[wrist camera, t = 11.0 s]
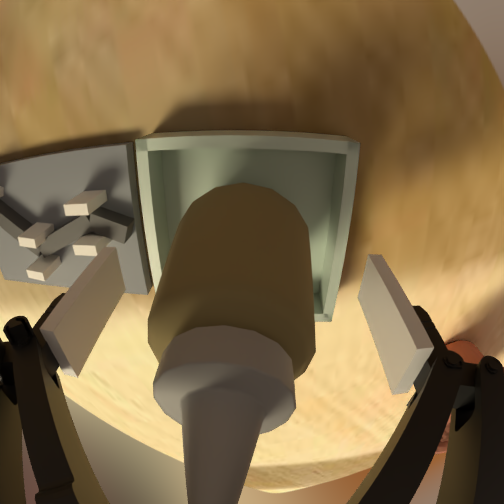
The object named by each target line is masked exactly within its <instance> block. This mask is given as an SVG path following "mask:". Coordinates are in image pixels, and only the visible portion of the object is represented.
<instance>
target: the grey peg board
mask: <svg viewBox="0 0 504 504" xmlns="http://www.w3.org/2000/svg"><path fill="white" fill-rule="evenodd" d="M103 247H116V249H117V254H118V259H119V263H120V267H121V272H122V276H123V280H124V284H125V288H126V290H125V292H124V293H132V294H145V295H148V293H149V291H150V289H151V288H152V283H151V278H150V273H149V267H148V261H147V255H146V249H145V243H144V237H143V230H142V223H141V216H140V208H139V200H138V191H137V182H136V172H135V161H134V149H133V142H126V143H116V144H107V145H99V146H91V147H84V148H77V149H70V150H64V151H58V152H52V153H47V154H41V155H36V156H31V157H26V158H22V159H17V160H13V161H8V162H4V163H0V269H1V271H2V274H3V276H4V279H5V280H12V281H20V282H27V283H35V284H43V285H51V286H60V287H69V288H70V287H71V286H72V285H73V283H74V282H75V281H76V280H77V278H78V277H79V276H80V275H81V273H82V272H83V271H84V270H85V269H86V267H87V266H88V265H89V264H90V263H91V261H92V260H93V259H94V258H95V257H96V256H97V254H98V253H99V252H100V251H101V250H102V249H103Z"/></svg>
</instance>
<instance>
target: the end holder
mask: <svg viewBox="0 0 504 504" xmlns="http://www.w3.org/2000/svg"><path fill="white" fill-rule="evenodd" d="M135 143H136V156H137V168H138V178H139V188H140V197H141V205H142V213H143V221H144V228H145V235H146V242H147V248H148V254H149V260H150V266H151V272H152V277H153V283H154V288H155V293H156V291H157V288H158V284H159V281H160V278H161V275H162V272H163V269H164V266H165V263H166V259H167V256H168V253H169V251H170V248H171V245H172V242H173V239H174V236H175V233H176V230H177V227H178V225H179V222H180V221H181V219H182V218H183V216H184V214H185V213H186V211H187V210H188V208H189V207H190V205H191V203H192V202H193V201H195V200H196V199H198V198H199V197H201V196H202V195H204V194H205V193H207V192H209V191H210V190H212V189H213V188H215V187H219V186H225V185H231V184H237V183H243V182H244V183H248V184H253V185H257V186H262V187H266V188H270V189H273V190H274V191H276V192H277V193H279V194H280V195H282V196H283V197H284V198H286V199H287V200H289V201H290V202H291V203H293V204H294V205H295V206H296V208H297V209H298V211H299V213H300V214H301V216H302V218H303V219H304V221H305V223H306V224H307V226H308V230H309V240H310V250H311V264H312V280H313V297H314V318H315V322H331V321H332V316H333V312H334V308H335V303H336V298H337V294H338V289H339V284H340V279H341V274H342V269H343V263H344V258H345V252H346V246H347V241H348V235H349V228H350V222H351V216H352V209H353V202H354V194H355V187H356V179H357V170H358V161H359V152H360V143H359V142H357V141H355V140H353V139H351V138H349V137H347V136H340V135H329V134H318V133H304V132H288V131H263V130H203V131H178V132H162V133H151V134H149V135H146V136H143V137H141V138H138V139H136V140H135Z"/></svg>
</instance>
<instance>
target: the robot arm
mask: <svg viewBox="0 0 504 504" xmlns="http://www.w3.org/2000/svg"><path fill="white" fill-rule="evenodd" d="M125 290H126V288H125V284H124V280H123V276H122V272H121V267H120V263H119V259H118V254H117V249H116V247H103V249H102V250H101V251H100V252H99V253H98V254H97V256H96V257H95V258H94V259H93V260H92V261H91V263H90V264H89V265H88V266H87V267H86V269H85V270H84V271H83V272H82V273H81V275H80V276H79V277H78V278H77V280H76V281H75V282H74V283H73V285H72V286H71V287H70V288H69V290H68V291H67V292H66V293H62V294H61V295H59V296H58V297H57V298H55V299H54V300H53V302H52V303H51V304H50V306H49V307H48V308H47V310H46V311H45V313H44V314H43V315H42V316H41V318H40V319H39V320H38V322H37V323H36V324H35V326H34V327H33V328H32V327H31V325H30V323H29V321H28V319H27V318H26V317H25V316H17V317H14V318H12V319H10V320H9V321H8V322H7V323H6V325H5V326H4V329H3V331H4V333H5V335H6V337H7V338H8V340H9V342H2V340H1V338H0V504H26V498H25V490H24V478H23V462H22V430H23V434H24V439H25V443H26V446H27V451H28V455H29V458H30V462H31V465H32V469H33V472H34V475H35V478H36V481H37V485H38V488H39V492H38V493H37V494H35V501H36V504H110V503H109V502H108V500H107V498H106V496H105V495H104V493H103V490H102V489H101V487H100V485H99V482H98V480H97V478H96V477H95V474H94V472H93V470H92V468H91V465H90V463H89V461H88V459H87V456H86V454H85V452H84V449H83V447H82V444H81V442H80V439H79V437H78V434H77V431H76V429H75V426H74V423H73V420H72V418H71V415H70V412H69V409H68V406H67V402H66V399H65V396H64V393H63V389H62V386H61V382H60V379H59V376H58V374H57V372H56V371H57V369H58V367H59V366H60V368H61V369H62V371H63V373H64V374H65V375H69V376H73V377H77V378H78V376H79V374H80V372H81V370H82V368H83V366H84V364H85V362H86V360H87V358H88V356H89V355H90V353H91V351H92V349H93V347H94V345H95V343H96V341H97V339H98V338H99V336H100V334H101V332H102V330H103V328H104V327H105V325H106V323H107V321H108V319H109V318H110V316H111V314H112V312H113V311H114V309H115V307H116V305H117V304H118V302H119V300H120V298H121V297H122V295H123V293H124V292H125ZM358 299H359V302H360V305H361V307H362V310H363V312H364V315H365V318H366V320H367V323H368V326H369V328H370V331H371V334H372V337H373V339H374V342H375V345H376V348H377V351H378V354H379V356H380V359H381V362H382V365H383V368H384V371H385V374H386V377H387V380H388V383H389V387H390V390H391V393H392V395H394V394H401V393H408V392H409V390H410V388H411V387H412V385H413V384H414V387H415V389H416V392H415V393H414V395H413V396H412V398H411V399H410V401H409V402H408V404H407V406H408V407H407V409H406V411H405V413H404V415H403V417H402V418H401V420H400V422H399V424H398V426H397V428H396V429H395V431H394V433H393V435H392V436H391V438H390V440H389V442H388V443H387V445H386V447H385V448H384V450H383V451H382V453H381V455H380V456H379V458H378V459H377V461H376V463H375V464H374V466H373V467H372V469H371V470H370V472H369V473H368V475H367V476H366V478H365V479H364V480H363V482H362V483H361V485H360V486H359V488H358V489H357V490H356V492H355V493H354V494H353V496H352V497H351V498H350V500H349V501H348V502H347V504H409V503H410V502H411V500H412V498H413V496H414V494H415V493H416V491H417V489H418V487H419V485H420V483H421V481H422V479H423V477H424V475H425V473H426V471H427V469H428V467H429V464H430V463H431V461H432V459H433V456H434V454H435V452H436V450H437V447H438V445H439V443H440V440H441V438H442V435H443V433H444V430H445V428H446V425H447V422H448V420H449V417H450V414H451V420H450V430H449V438H448V446H447V453H446V459H445V466H444V471H443V476H442V481H441V485H440V490H439V495H438V499H437V503H436V504H504V369H503V366H502V364H501V363H500V361H499V360H497V359H496V358H494V357H492V356H485V357H483V358H482V359H481V360H480V362H479V363H478V364H474V363H467V362H464V360H463V358H462V357H461V356H460V355H459V354H458V353H456V352H454V351H451V350H448V349H447V347H446V345H445V343H444V341H443V339H442V338H441V336H440V334H439V332H438V330H437V329H436V328H435V325H434V323H433V322H432V320H431V318H430V316H429V315H428V313H427V312H426V311H425V310H424V309H423V308H422V307H420V306H412V305H411V303H410V301H409V300H408V298H407V296H406V294H405V293H404V291H403V289H402V288H401V286H400V284H399V282H398V281H397V279H396V277H395V276H394V274H393V273H392V271H391V269H390V268H389V266H388V264H387V263H386V261H385V260H384V258H383V256H382V255H372V254H368V257H367V262H366V266H365V270H364V275H363V279H362V283H361V287H360V291H359V295H358Z"/></svg>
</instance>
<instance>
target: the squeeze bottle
mask: <svg viewBox="0 0 504 504" xmlns="http://www.w3.org/2000/svg"><path fill="white" fill-rule="evenodd" d="M148 343H149V345H150V347H151V349H152V351H153V353H154V355H155V356H156V358H157V360H158V362H159V366H158V369H157V372H156V375H155V378H154V382H153V394H154V399H155V400H156V402H157V403H158V405H159V406H160V407H161V409H162V410H163V412H164V413H165V414H166V415H168V416H169V417H171V418H172V419H173V420H175V421H176V422H178V423H179V424H181V425H182V435H183V451H184V464H185V476H186V487H187V496H188V504H238V501H239V498H240V495H241V491H242V488H243V485H244V482H245V479H246V476H247V473H248V470H249V466H250V463H251V460H252V457H253V453H254V450H255V447H256V443H257V440H258V436H259V434H262V433H266V432H270V431H272V430H273V429H275V428H277V427H279V426H280V425H282V424H284V423H286V422H287V421H288V419H289V418H290V416H291V415H292V413H293V412H294V410H295V409H296V400H295V386H294V380H295V379H296V378H298V377H299V376H300V375H302V374H303V373H304V372H305V371H306V369H307V367H308V365H309V363H310V362H311V360H312V358H313V356H314V354H315V352H316V346H315V318H314V297H313V280H312V264H311V250H310V240H309V230H308V226H307V224H306V223H305V221H304V219H303V218H302V216H301V214H300V213H299V211H298V209H297V208H296V206H295V205H294V204H293V203H291V202H290V201H289V200H287V199H286V198H284V197H283V196H282V195H280V194H279V193H277V192H276V191H274V190H273V189H270V188H266V187H262V186H257V185H253V184H248V183H244V182H243V183H237V184H231V185H225V186H219V187H215V188H213V189H212V190H210V191H209V192H207V193H205V194H204V195H202V196H201V197H199V198H198V199H196V200H195V201H193V202H192V203H191V205H190V207H189V208H188V210H187V211H186V213H185V214H184V216H183V218H182V219H181V221H180V222H179V225H178V227H177V230H176V233H175V236H174V239H173V242H172V245H171V248H170V251H169V253H168V256H167V259H166V263H165V266H164V269H163V272H162V275H161V278H160V281H159V284H158V288H157V291H156V294H155V297H154V301H153V304H152V307H151V311H150V314H149V317H148Z"/></svg>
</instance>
